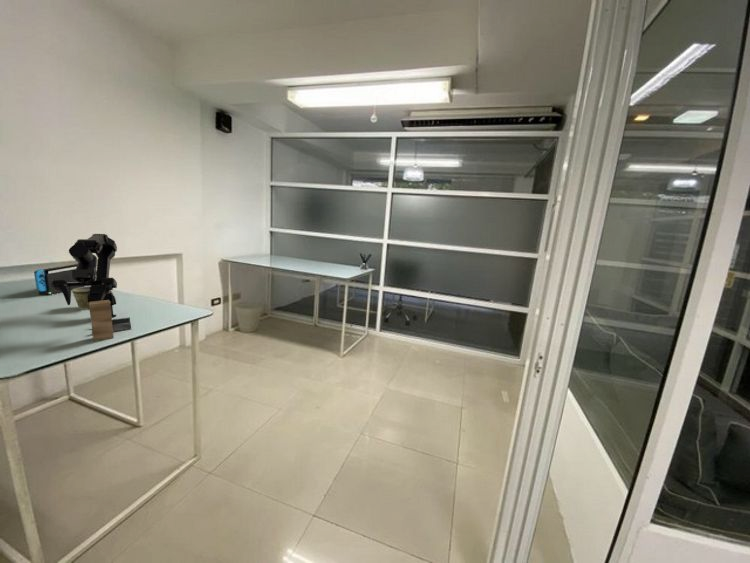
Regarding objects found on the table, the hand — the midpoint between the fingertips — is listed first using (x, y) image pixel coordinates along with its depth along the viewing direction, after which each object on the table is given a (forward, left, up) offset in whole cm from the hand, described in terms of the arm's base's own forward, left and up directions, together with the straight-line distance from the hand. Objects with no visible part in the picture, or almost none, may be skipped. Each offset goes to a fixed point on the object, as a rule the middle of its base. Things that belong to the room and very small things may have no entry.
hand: (84, 304), depth 122 cm
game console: (-52, -72, -14) cm, 90 cm away
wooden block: (0, +6, -14) cm, 15 cm away
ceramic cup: (-29, -30, -14) cm, 44 cm away
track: (-9, +1, -14) cm, 17 cm away
